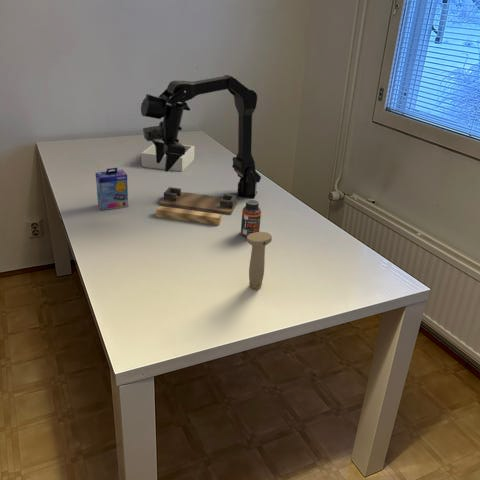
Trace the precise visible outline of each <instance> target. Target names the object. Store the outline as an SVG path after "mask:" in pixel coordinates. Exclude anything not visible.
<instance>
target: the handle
mask: <svg viewBox="0 0 480 480" xmlns="http://www.w3.org/2000/svg"><path fill="white" fill-rule="evenodd" d="M272 238H273V237H272V234H270V233H269V232H268V231H267V232H266V231H259V232H255V233H251V234H249V235H248V236H247V237H246V243H247V244H249V245H250V246H251V251H250V252H251V254H250V259H249V268H248V281H249V282H248V284H249V285H248V286H249V287H250V288H251V289H252V290H255V289H256V290H259V289H260V288H261V287H262V285H263V281H264V275H265V263H266V262H265V261H266V260H265V257H266V255H265V254H266V246H267V245H269V244H270V243H271V242H272V240H273V239H272Z"/></svg>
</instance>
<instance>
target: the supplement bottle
mask: <svg viewBox="0 0 480 480" xmlns="http://www.w3.org/2000/svg"><path fill="white" fill-rule="evenodd" d="M259 206H260V202H259V201H258V200H255V199H249V200H246V202H245V206H243V208H242V211H241V224H240V225H241V226H240V235H242V236H243V237H245V238H247V236H248V235H249V234H251V233H255V232H260V225H261V218H262V216H261V215H262V210H261V208H260V207H259Z"/></svg>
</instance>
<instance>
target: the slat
mask: <svg viewBox="0 0 480 480" xmlns="http://www.w3.org/2000/svg"><path fill="white" fill-rule="evenodd" d="M155 216H156V217H157V218H165V219H172V220H179V221H185V222H186V221H187V222H191V223H193V222H194V223H199V224H206V225H207V224H208V225H213V226H220V225H221V223H222V216H223V213H215V212H208V211H201V210H193V209H186V208H178V207H171V206H164V205H158V207H157V208H156V209H155Z"/></svg>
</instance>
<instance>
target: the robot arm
mask: <svg viewBox="0 0 480 480" xmlns="http://www.w3.org/2000/svg"><path fill="white" fill-rule="evenodd" d="M225 90H227V91H228V92H229V93H230V94H231V95H232V96H233V100H234V106H235V109H236V111H237V115H238V129H237V130H238V131H237V132H238V135H237V137H238V143H237V145H238V146H237V148H238V149H237V151H238V153H237V155H236V156H233V157H232V168H233V171H234V172H235V173H236V175H237V177H238V178H240V179H239V181H238V182H237V197H241V198H249V199H255V198H256V195H257V194H258V191H257V187H258V183H260V182H261V179H262V176H261V175H260V174H259V173H258V172H257V171H256V163H255V160H254V157H253V154H252V142H253V141H252V139H253V135H252V134H253V114H254V112H255V110H256V108H257V104H258V103H257V102H258V94H257V92H255V90H253V89H249V88H248V87H247V86H245V85H244V84H242V83H241V82H240V81H239V80H238V79H237V78H236V77H235V76H232V75H230V74H225V75H223V76H217V77H212V78H206V79H201V80H196V81H195V80H194V81H190V80H172V81H170V82H169V84H168V85H167V87H166V88H165V90H163V92H162V93H160V94H159V95H158V96H155V95H152V94H148V93H147V94H146V95H145V97H144V99H143V101H142V103H141V105H140V113H141V116H142V117H147V118H152V119H158V120H161V119H162V118H163V120H161V121H159V123H158V124H159V125H153V126H147V127H144V128H143V129H142V132H143V138H144V140H146V141H147V142H152V144H154V145H155V149H156V162H157V163H160V162H161V160H162V158H163V156H164V154H165V155H166V161H165V169H164V171H165V172H170V171H171V170H170V169H171V167H172V166H173V165H174V164H175V162H176V161H177V160H178V159H179V158H180V157H181V156H182V155H185V151H186V149H185V147H184V146H183V145H184V144H182V143H181V142H179V141H180V139H179V138H178V137H179V132H180V131H182V129H183V128H182V127H181V124H182V123H181V122H182V120H183V119H182V118H183V115H184V111H190V110H191V108H190V107H189V105H188V103H187V102H188V101H190V100H193V99H194V98H195V97H197V96H199V95H204V94H209V93H214V92H215V93H216V92H220V91H225Z"/></svg>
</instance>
